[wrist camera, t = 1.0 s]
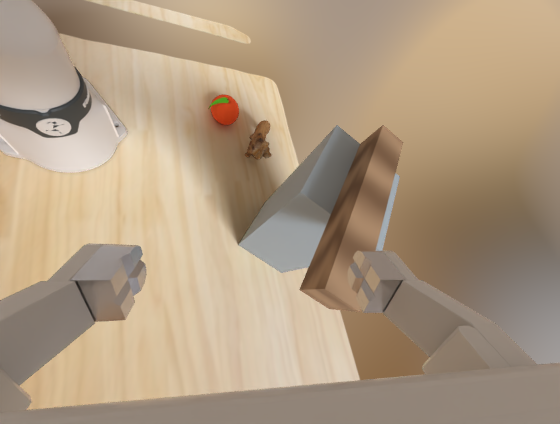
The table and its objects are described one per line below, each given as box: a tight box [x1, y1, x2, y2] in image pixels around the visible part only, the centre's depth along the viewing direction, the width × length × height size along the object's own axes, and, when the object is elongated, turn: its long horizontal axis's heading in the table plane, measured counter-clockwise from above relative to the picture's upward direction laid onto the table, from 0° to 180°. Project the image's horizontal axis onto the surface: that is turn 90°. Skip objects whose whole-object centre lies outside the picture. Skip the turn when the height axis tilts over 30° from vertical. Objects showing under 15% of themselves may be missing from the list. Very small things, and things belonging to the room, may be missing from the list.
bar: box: [300, 125, 403, 312], centre depth 24 cm, size 22×4×4 cm, turn 150°
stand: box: [238, 125, 399, 273], centre depth 40 cm, size 13×12×29 cm
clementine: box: [208, 95, 239, 125], centre depth 54 cm, size 8×7×7 cm
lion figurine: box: [245, 121, 271, 159], centre depth 55 cm, size 15×5×9 cm, turn 175°
